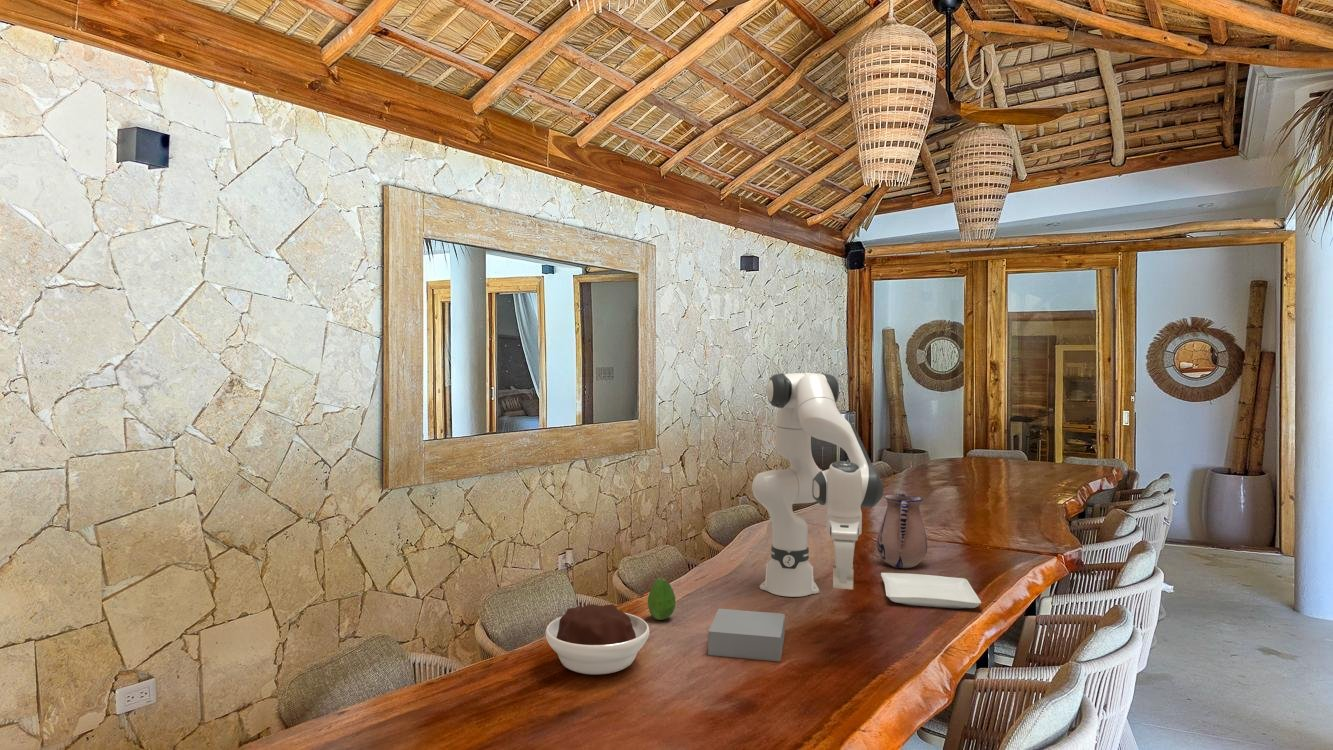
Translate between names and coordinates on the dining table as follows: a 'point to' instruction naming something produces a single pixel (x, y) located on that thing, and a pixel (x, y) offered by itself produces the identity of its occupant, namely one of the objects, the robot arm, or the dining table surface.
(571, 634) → the chocolate pudding bowl
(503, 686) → the dining table surface
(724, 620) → the pedestal
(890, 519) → the ceramic pitcher
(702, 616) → the dining table surface
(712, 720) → the dining table surface
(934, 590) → the square plate
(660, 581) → the avocado
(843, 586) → the cream cube
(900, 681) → the dining table surface
